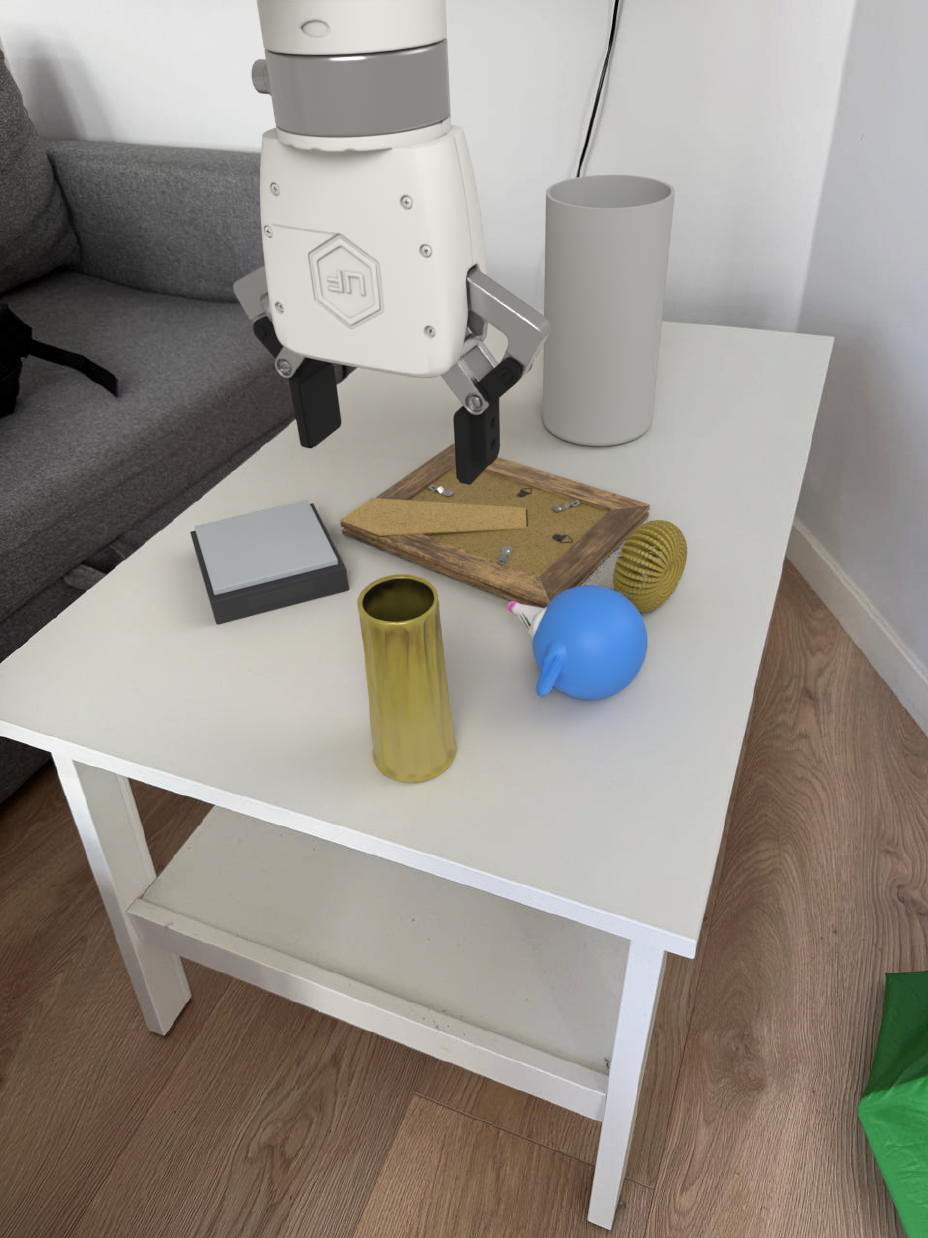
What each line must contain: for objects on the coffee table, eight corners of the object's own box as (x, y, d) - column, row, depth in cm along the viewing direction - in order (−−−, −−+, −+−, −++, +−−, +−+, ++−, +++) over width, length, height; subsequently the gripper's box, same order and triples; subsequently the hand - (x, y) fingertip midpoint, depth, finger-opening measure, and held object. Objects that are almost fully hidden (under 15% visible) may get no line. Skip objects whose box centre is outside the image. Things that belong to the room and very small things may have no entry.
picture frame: (342, 535, 89) (549, 618, 78) (339, 519, 88) (549, 601, 77) (454, 455, 101) (649, 517, 90) (453, 440, 100) (650, 502, 88)
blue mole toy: (551, 608, 79) (553, 527, 74) (673, 663, 73) (684, 579, 68) (463, 684, 72) (458, 600, 67) (590, 752, 66) (595, 665, 61)
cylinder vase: (562, 392, 112) (568, 171, 96) (663, 407, 108) (687, 178, 92) (527, 439, 103) (528, 203, 87) (635, 457, 99) (657, 213, 83)
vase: (435, 711, 70) (421, 559, 61) (470, 765, 66) (462, 609, 57) (360, 739, 68) (335, 586, 59) (392, 796, 64) (371, 640, 55)
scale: (216, 625, 79) (208, 597, 77) (195, 553, 88) (188, 525, 86) (349, 590, 82) (345, 562, 80) (316, 523, 91) (312, 497, 89)
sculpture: (650, 573, 82) (658, 497, 77) (690, 590, 80) (701, 513, 75) (600, 618, 78) (606, 540, 73) (641, 636, 76) (650, 558, 71)
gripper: (145, 101, 39) (226, 454, 50) (509, 123, 33) (512, 524, 44) (251, 72, 44) (304, 398, 55) (585, 86, 38) (571, 453, 49)
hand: (396, 453), depth 49 cm, fingers open, 9 cm apart
